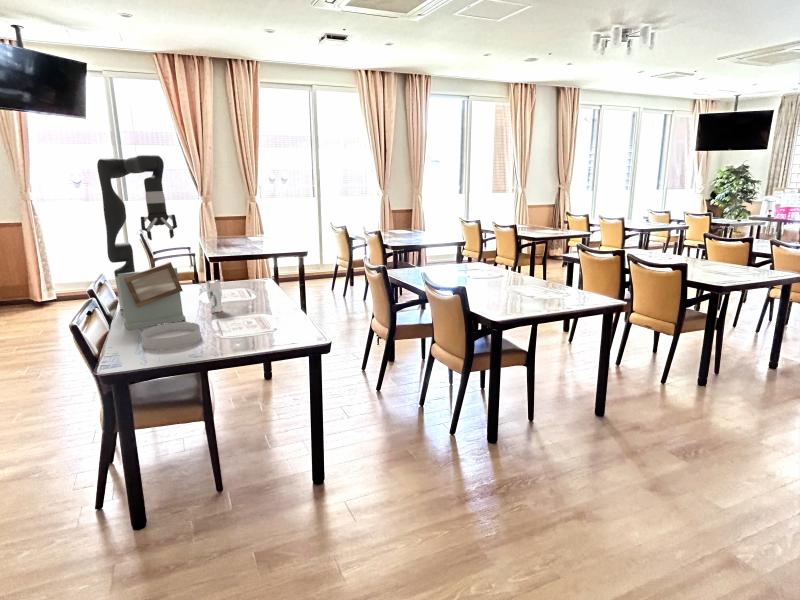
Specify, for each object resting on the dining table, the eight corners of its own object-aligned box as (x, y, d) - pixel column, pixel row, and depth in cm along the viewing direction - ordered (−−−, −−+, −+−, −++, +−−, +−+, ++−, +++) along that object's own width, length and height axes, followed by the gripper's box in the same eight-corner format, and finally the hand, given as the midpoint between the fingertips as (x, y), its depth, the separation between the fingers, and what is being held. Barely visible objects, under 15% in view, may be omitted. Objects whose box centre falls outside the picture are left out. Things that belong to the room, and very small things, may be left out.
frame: (137, 307, 227) (123, 278, 222) (181, 290, 236) (170, 261, 231) (137, 307, 225) (124, 278, 220) (182, 290, 235) (171, 262, 230)
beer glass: (208, 313, 248) (204, 283, 244) (209, 310, 254) (206, 280, 251) (223, 312, 249) (220, 282, 246) (224, 308, 256) (221, 279, 252)
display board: (124, 323, 234) (116, 272, 228) (180, 315, 247) (173, 265, 241) (127, 330, 224) (119, 276, 218) (185, 320, 237) (179, 269, 231)
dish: (134, 342, 208) (132, 330, 207) (188, 330, 223) (186, 319, 222) (154, 354, 192) (152, 342, 191) (210, 340, 207) (209, 329, 206)
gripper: (171, 201, 231) (176, 237, 235) (136, 202, 224) (142, 240, 227) (174, 201, 225) (179, 238, 229) (138, 203, 217) (144, 241, 221)
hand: (161, 239), depth 228 cm, fingers open, 8 cm apart
